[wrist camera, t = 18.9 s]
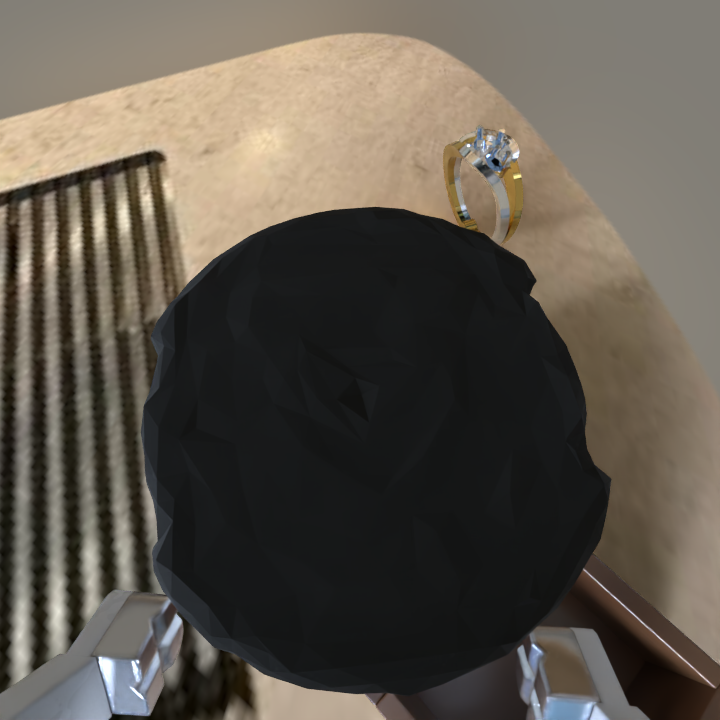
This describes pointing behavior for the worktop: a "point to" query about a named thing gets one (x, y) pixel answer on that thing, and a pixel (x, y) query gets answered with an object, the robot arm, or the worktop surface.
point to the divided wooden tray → (622, 646)
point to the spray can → (367, 453)
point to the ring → (487, 178)
